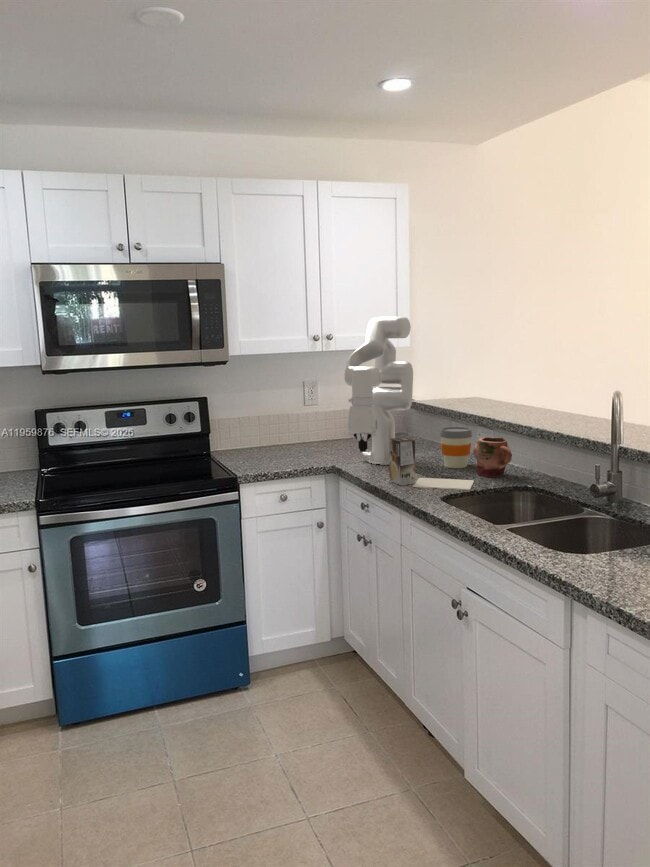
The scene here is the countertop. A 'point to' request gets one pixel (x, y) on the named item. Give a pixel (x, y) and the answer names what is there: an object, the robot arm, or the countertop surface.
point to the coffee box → (402, 460)
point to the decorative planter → (491, 456)
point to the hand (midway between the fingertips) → (363, 451)
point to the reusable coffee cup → (455, 446)
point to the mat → (444, 483)
